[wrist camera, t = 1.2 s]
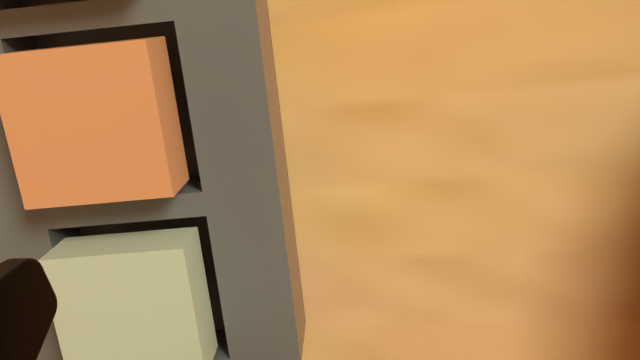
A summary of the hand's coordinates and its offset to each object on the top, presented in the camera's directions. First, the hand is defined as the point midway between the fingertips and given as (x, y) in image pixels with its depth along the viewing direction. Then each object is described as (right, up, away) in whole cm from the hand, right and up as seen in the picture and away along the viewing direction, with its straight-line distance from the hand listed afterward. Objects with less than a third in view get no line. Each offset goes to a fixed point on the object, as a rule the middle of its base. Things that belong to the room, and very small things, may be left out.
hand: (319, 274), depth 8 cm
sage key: (-6, -2, +11) cm, 13 cm away
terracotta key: (-6, +3, +9) cm, 12 cm away
